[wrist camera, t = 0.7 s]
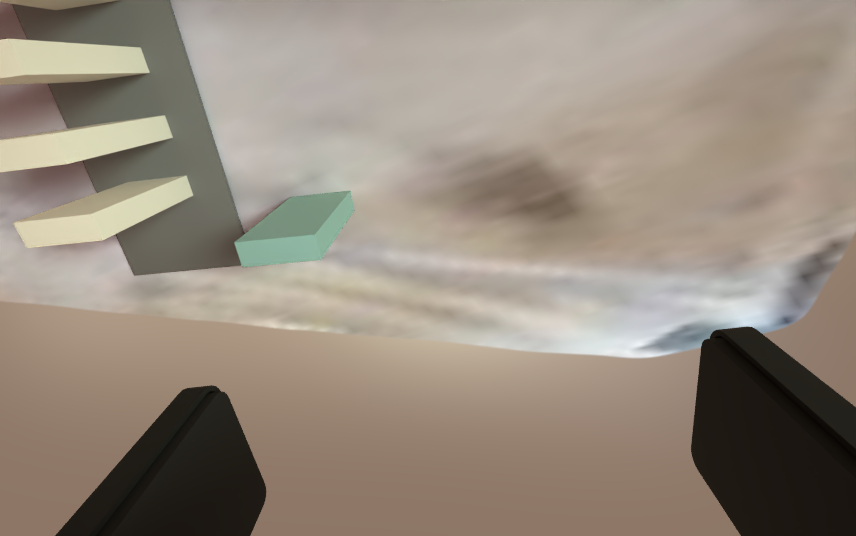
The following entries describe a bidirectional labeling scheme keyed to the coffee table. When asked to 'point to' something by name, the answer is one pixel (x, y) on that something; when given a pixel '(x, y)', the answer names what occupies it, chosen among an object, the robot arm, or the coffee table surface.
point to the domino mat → (181, 155)
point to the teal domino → (296, 230)
